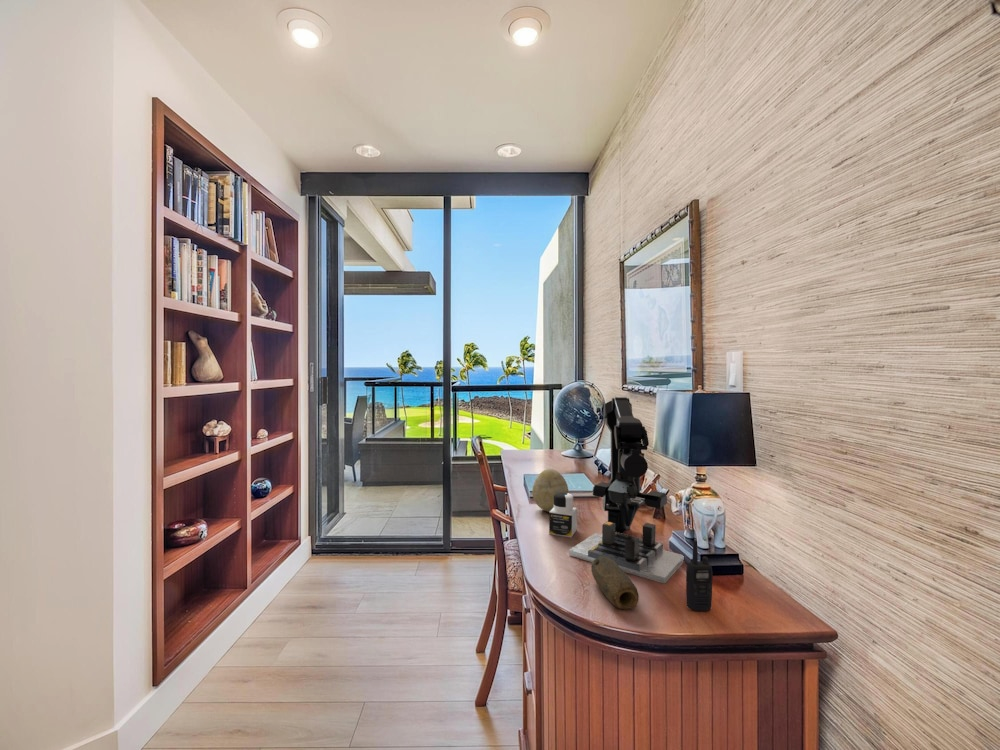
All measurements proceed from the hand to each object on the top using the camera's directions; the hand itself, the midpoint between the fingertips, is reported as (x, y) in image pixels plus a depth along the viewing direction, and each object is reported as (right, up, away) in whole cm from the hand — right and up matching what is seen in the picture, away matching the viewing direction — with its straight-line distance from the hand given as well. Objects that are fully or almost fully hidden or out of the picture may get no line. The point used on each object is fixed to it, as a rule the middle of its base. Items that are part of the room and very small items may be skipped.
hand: (628, 526), depth 124 cm
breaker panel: (0, -9, +1) cm, 9 cm away
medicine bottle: (-15, -9, +20) cm, 26 cm away
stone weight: (-9, -10, -19) cm, 23 cm away
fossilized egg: (-17, -8, +40) cm, 44 cm away
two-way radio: (+8, -10, -24) cm, 27 cm away
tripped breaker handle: (-4, -6, +4) cm, 8 cm away
